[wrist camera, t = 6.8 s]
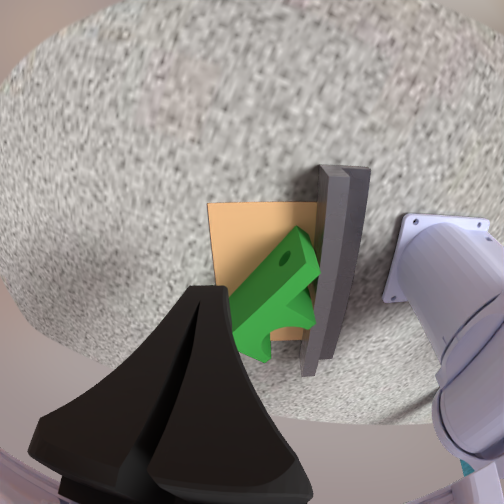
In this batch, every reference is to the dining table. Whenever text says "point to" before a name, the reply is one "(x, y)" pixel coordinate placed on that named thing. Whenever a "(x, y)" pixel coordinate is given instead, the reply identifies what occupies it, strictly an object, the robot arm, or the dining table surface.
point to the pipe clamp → (275, 295)
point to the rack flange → (323, 241)
